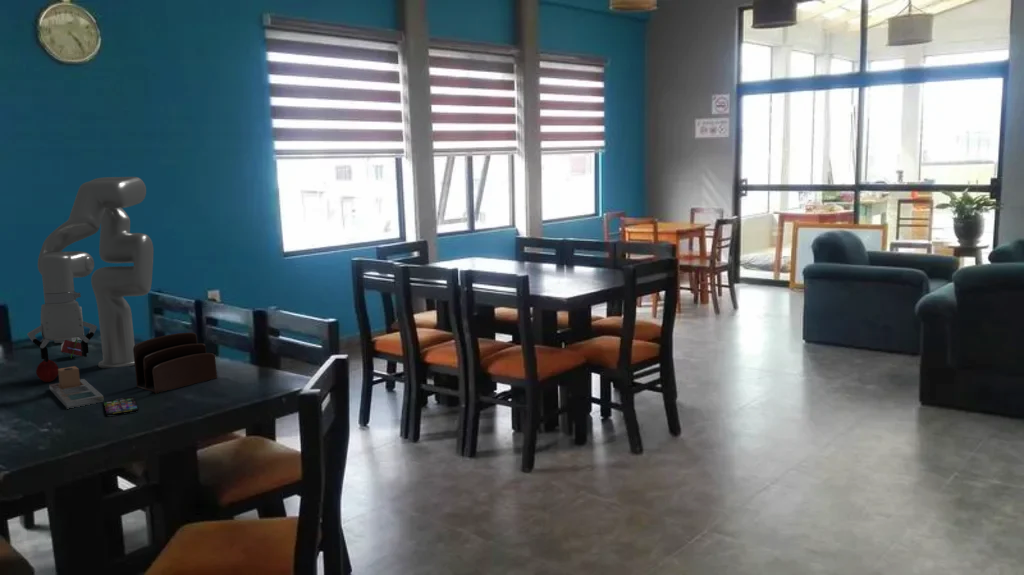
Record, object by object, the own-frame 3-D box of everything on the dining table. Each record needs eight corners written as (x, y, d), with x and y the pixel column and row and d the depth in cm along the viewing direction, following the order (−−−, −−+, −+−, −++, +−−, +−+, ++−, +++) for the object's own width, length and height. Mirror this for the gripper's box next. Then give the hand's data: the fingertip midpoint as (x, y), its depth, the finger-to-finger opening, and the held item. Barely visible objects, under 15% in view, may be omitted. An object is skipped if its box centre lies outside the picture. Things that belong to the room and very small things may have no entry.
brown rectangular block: (77, 386, 238) (75, 365, 237) (80, 389, 234) (78, 368, 233) (60, 389, 235) (57, 368, 234) (63, 392, 232) (60, 371, 231)
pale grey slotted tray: (84, 385, 241) (83, 378, 241) (104, 403, 222) (103, 395, 222) (50, 391, 236) (49, 384, 235) (67, 409, 217) (66, 402, 217)
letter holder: (136, 389, 236) (131, 341, 234) (198, 374, 251) (194, 328, 249) (155, 394, 230) (150, 345, 228) (217, 378, 246) (214, 332, 243)
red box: (90, 347, 283) (73, 330, 279) (92, 350, 277) (74, 333, 273) (73, 361, 280) (55, 345, 277) (74, 365, 275) (56, 349, 271)
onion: (64, 381, 246) (61, 355, 245) (46, 386, 241) (43, 359, 240) (51, 379, 248) (48, 354, 247) (33, 384, 243) (30, 358, 242)
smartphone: (134, 396, 226) (139, 409, 213) (135, 399, 227) (139, 413, 214) (103, 400, 223) (105, 415, 210) (103, 404, 223) (106, 418, 210)
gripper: (90, 294, 239) (96, 352, 241) (22, 300, 228) (28, 361, 230) (96, 296, 233) (102, 356, 235) (26, 303, 222) (32, 365, 224)
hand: (65, 358), depth 233 cm, fingers open, 9 cm apart
